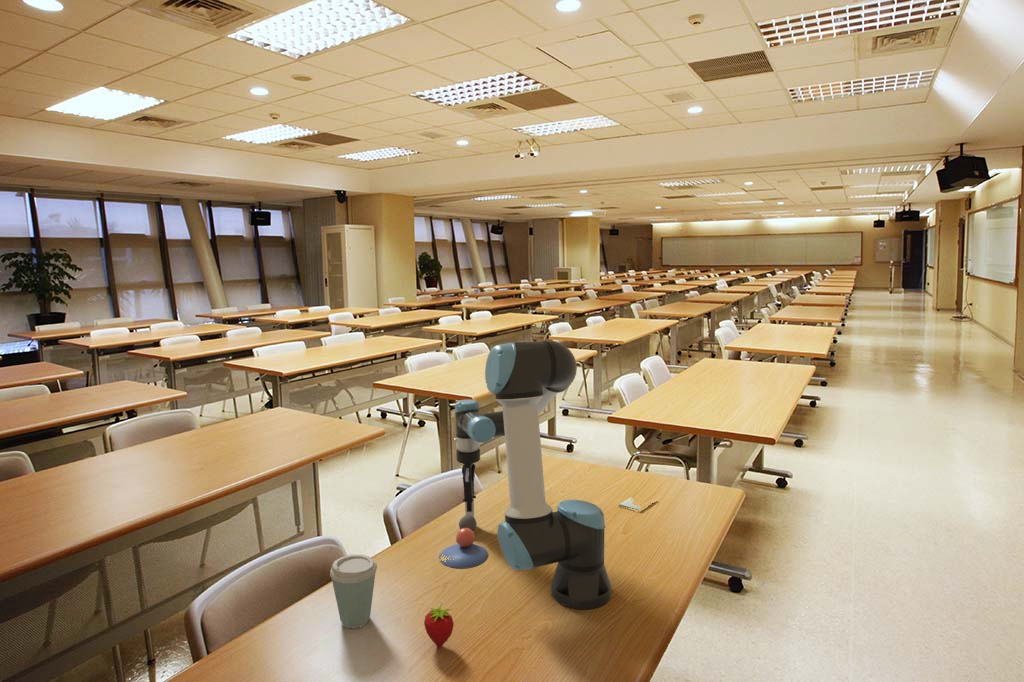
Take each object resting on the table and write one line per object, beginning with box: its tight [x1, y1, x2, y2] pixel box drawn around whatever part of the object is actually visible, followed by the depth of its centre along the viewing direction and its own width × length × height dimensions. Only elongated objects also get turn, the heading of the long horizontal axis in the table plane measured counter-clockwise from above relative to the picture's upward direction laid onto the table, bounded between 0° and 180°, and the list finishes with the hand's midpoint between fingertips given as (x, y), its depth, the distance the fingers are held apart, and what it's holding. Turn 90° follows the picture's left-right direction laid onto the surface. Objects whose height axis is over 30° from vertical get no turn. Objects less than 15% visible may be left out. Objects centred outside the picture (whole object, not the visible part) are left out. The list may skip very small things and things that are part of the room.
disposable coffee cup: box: [329, 554, 378, 629], centre depth 136 cm, size 11×11×15 cm
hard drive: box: [618, 497, 641, 510], centre depth 201 cm, size 2×8×12 cm
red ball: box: [455, 528, 476, 547], centre depth 172 cm, size 6×6×6 cm
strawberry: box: [423, 602, 455, 648], centre depth 127 cm, size 6×8×10 cm
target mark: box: [438, 543, 489, 569], centre depth 167 cm, size 14×14×1 cm
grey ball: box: [458, 515, 477, 532], centre depth 181 cm, size 6×6×6 cm
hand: (470, 519), depth 187 cm, fingers closed
